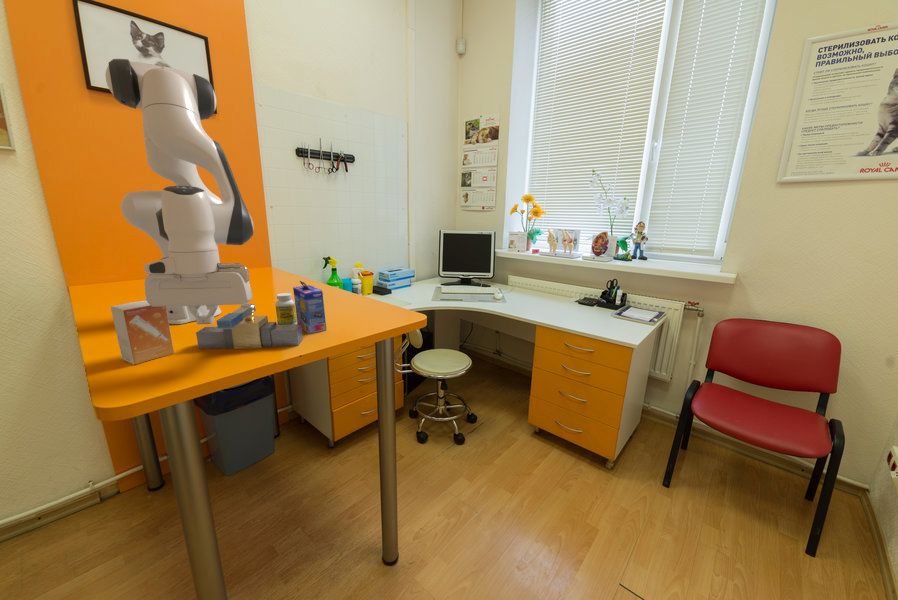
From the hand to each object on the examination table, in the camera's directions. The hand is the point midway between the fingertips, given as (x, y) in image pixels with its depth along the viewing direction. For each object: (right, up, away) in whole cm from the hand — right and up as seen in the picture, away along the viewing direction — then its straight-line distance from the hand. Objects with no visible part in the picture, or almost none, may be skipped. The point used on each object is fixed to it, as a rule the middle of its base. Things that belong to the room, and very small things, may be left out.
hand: (206, 323), depth 81 cm
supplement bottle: (+6, -2, +28) cm, 29 cm away
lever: (+5, +1, +5) cm, 7 cm away
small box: (-16, -8, +4) cm, 18 cm away
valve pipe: (+4, -6, +12) cm, 14 cm away
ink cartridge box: (+14, -3, +25) cm, 29 cm away
